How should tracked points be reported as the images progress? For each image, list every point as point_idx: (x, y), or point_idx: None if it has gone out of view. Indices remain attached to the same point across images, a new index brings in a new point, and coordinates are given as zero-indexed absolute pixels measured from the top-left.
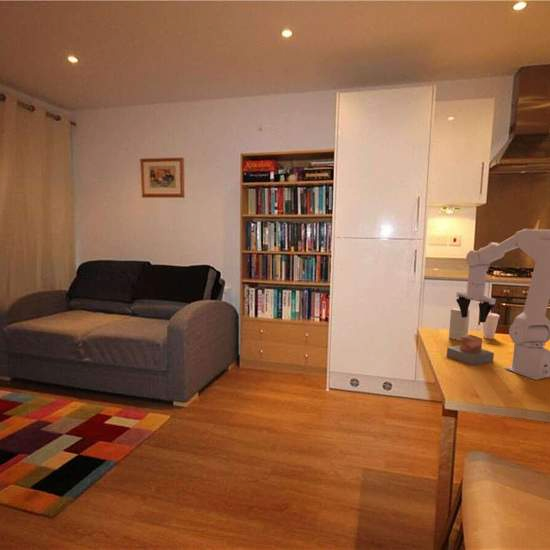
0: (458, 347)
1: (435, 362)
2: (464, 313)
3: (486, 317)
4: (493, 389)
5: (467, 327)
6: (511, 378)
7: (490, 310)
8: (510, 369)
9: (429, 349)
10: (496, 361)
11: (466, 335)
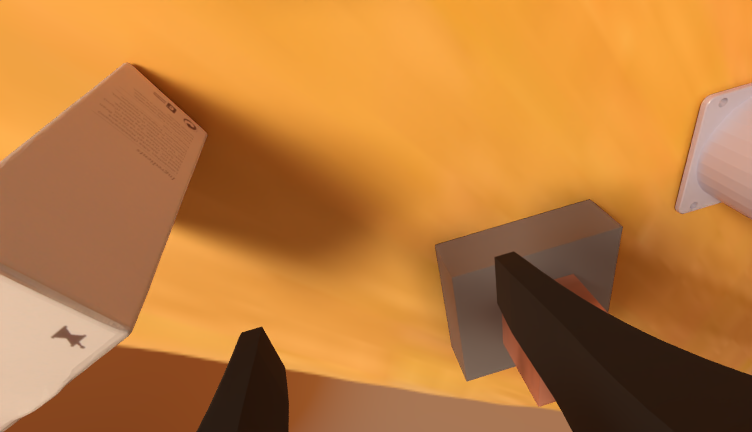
0: (485, 342)
1: (499, 397)
2: (276, 403)
3: (555, 286)
4: (722, 337)
5: (122, 135)
6: (727, 244)
7: (670, 345)
8: (703, 207)
9: (358, 377)
10: (595, 179)
11: (542, 382)
